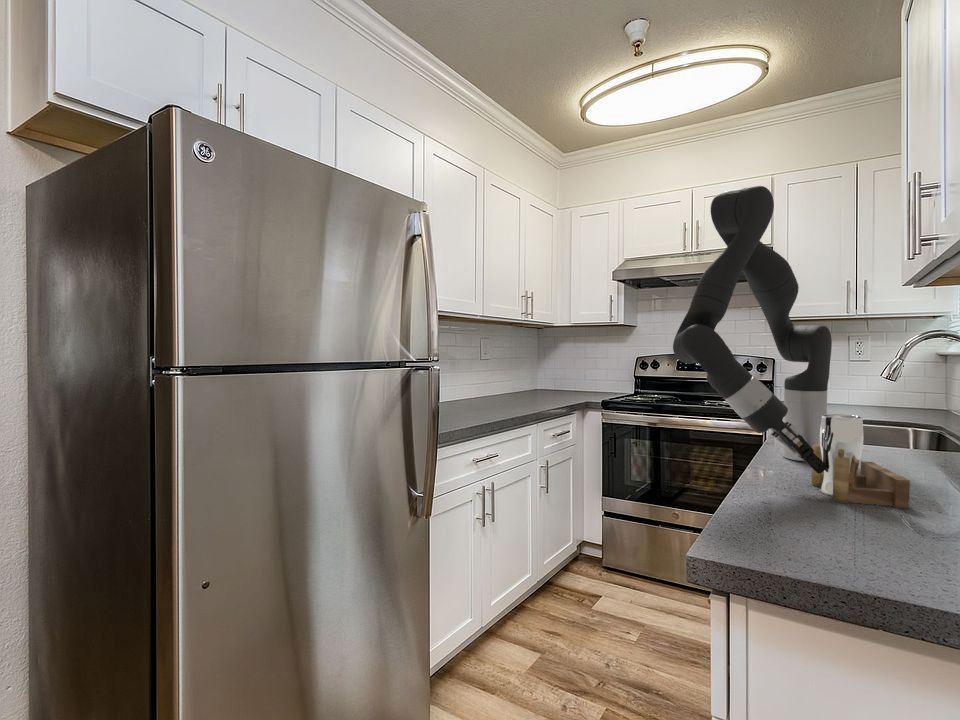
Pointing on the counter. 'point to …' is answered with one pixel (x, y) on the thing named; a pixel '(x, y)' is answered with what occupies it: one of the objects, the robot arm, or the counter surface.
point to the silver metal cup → (840, 446)
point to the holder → (865, 484)
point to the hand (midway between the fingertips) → (822, 469)
